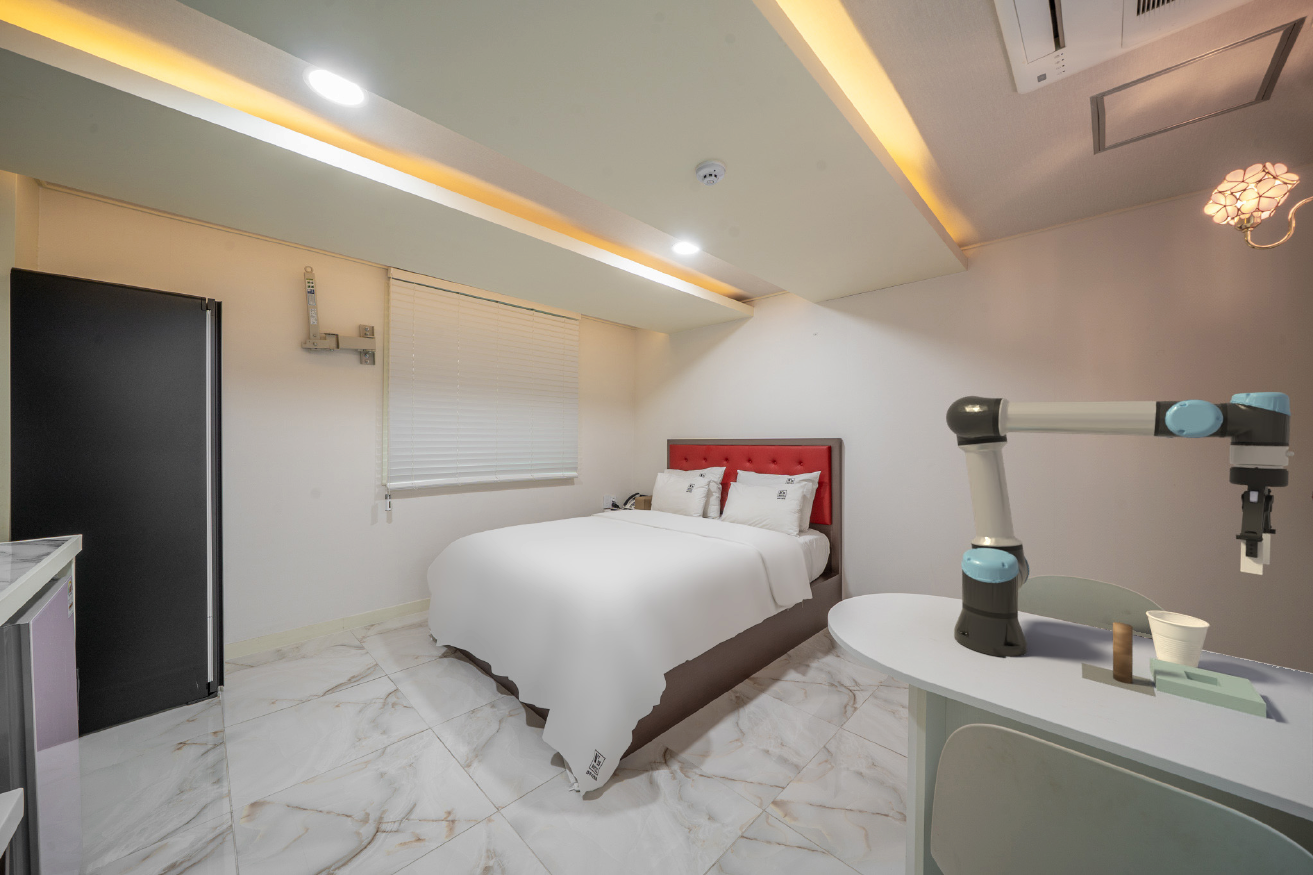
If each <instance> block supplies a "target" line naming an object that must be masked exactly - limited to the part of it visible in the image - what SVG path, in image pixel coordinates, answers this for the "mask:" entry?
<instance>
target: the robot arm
mask: <svg viewBox="0 0 1313 875" xmlns="http://www.w3.org/2000/svg"><path fill="white" fill-rule="evenodd" d="M1290 405H1291V404H1290V396H1289V395H1288V394H1287V393H1284V392H1280V391H1274V392H1273V391H1265V392H1263V391H1262V392H1242V393H1235V394H1233V395H1232V396H1231V400H1230V401H1229V402H1225V403H1224V402H1223V403H1222V402H1220V403H1212V402H1211V401H1207V400H1203V399H1186V400H1162V401H1161V400H1159V401H1157V400H1139V401H1138V400H1133V401H1132V400H1128V401H1127V400H1124V401H1123V400H1122V401H1119V400H1117V401H1113V400H1109V401H1106V400H1104V401H1009V400H1008V399H1006V398H1005V397H1001V398H1000V397H998V398H997V397H996V398H995V397H983V396H977V395H969V396H967V395H966V396H963V397H960V398H959V399H958V398H957V399H956V400H955V401H954V402H952V403H951V405H950V406H949V407H948V409H947V410H946V416H945V420H946V424H947V427H948V428H949V430H950V431H951V432H952V433H953V434H955V435H956V441H957V448H959V449H960V450H962V451H963V452H964V455H965V461H966V468H967V475H968V483H969V490H970V498H971V505H972V512H973V513H972V514H973V519H974V527H975V533H976V535H975V537H974V538H973V539H972V540H971V541H970V542H971V543H970V544H971V549H968V550H966V551H964V553H963V555H962V560H961V576H962V577H961V579H962V580H961V584H962V586H961V591H962V592H961V595H962V596H961V597H962V598H961V599H962V600H961V602H962V603H961V604H962V605H961V606H962V607H961V610H960V614H959V616H958V619H957V621H956V623H955V626H954V631H953V632H954V633H953V635H954V639H955V641H956V640H957V641H956V642H958V643H959V644H960V645H962V646H963V647H966V648H968V649H970V650H972V651H975V652H978V653H981V654H986V655H989V656H996V657H1002V658H1007V657H1009V658H1012V657H1013V658H1015V657H1022V656H1024V655H1026V654H1027V652H1028V643H1027V640H1026V637H1025V635H1024V632H1023V628H1022V627H1021V624H1020V622H1019V590H1020V589H1021V588H1022V587H1023V585H1025V583H1027V580H1028V578H1029V576H1030V565H1029V562H1028V560H1027V558H1026V556H1025V552H1024V546H1023V541H1021V540H1020V539H1019V538H1018V537H1016V535H1015V531H1014V523H1013V517H1012V512H1011V504H1010V497H1009V489H1008V483H1007V478H1006V477H1007V476H1006V470H1005V463H1004V455H1003V448H1005V446H1006V445H1007V444H1008V438H1007V434H1008V433H1027V434H1028V433H1029V434H1064V435H1065V434H1067V435H1068V434H1070V435H1102V436H1137V437H1139V436H1141V437H1155V438H1167V439H1173V438H1187V439H1200V438H1202V439H1203V438H1220V439H1221V438H1222V439H1225V438H1230V445H1229V464H1231V465H1233V466H1231V467H1230V468H1229V483H1230V484H1233V485H1237V486H1238V485H1240V486H1247V489H1246V490H1244V492H1243V493H1241V497H1240V501H1241V503H1242V504H1241V512H1242V519H1241V530H1240V533H1239V534H1238V533H1237V534H1235V539H1236V540H1241V541H1240V572H1241V573H1242V572H1243V573H1249V574H1253V575H1261V576H1263V571H1264V565H1266V566H1267V565H1268V566H1270V564H1271V563H1270V562H1271V535H1276V534H1277V529H1276V528H1273V526H1272V522H1271V520H1272V516H1271V513H1272V512H1273V504H1274V501H1275V495H1274V494H1271V493H1272V490H1271V488H1286V487H1288V486H1289V473H1290V472H1289V470H1288V469H1287V468H1284V467H1287V466H1289V459H1290V458H1289V457H1293V456H1295V453H1294V451H1290V450H1289V449H1290V448H1289V446H1290V438H1291V437H1290V436H1291V432H1290V431H1291V419H1292V418H1291V416H1292V413H1291V406H1290ZM1288 450H1289V451H1288Z"/></svg>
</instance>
